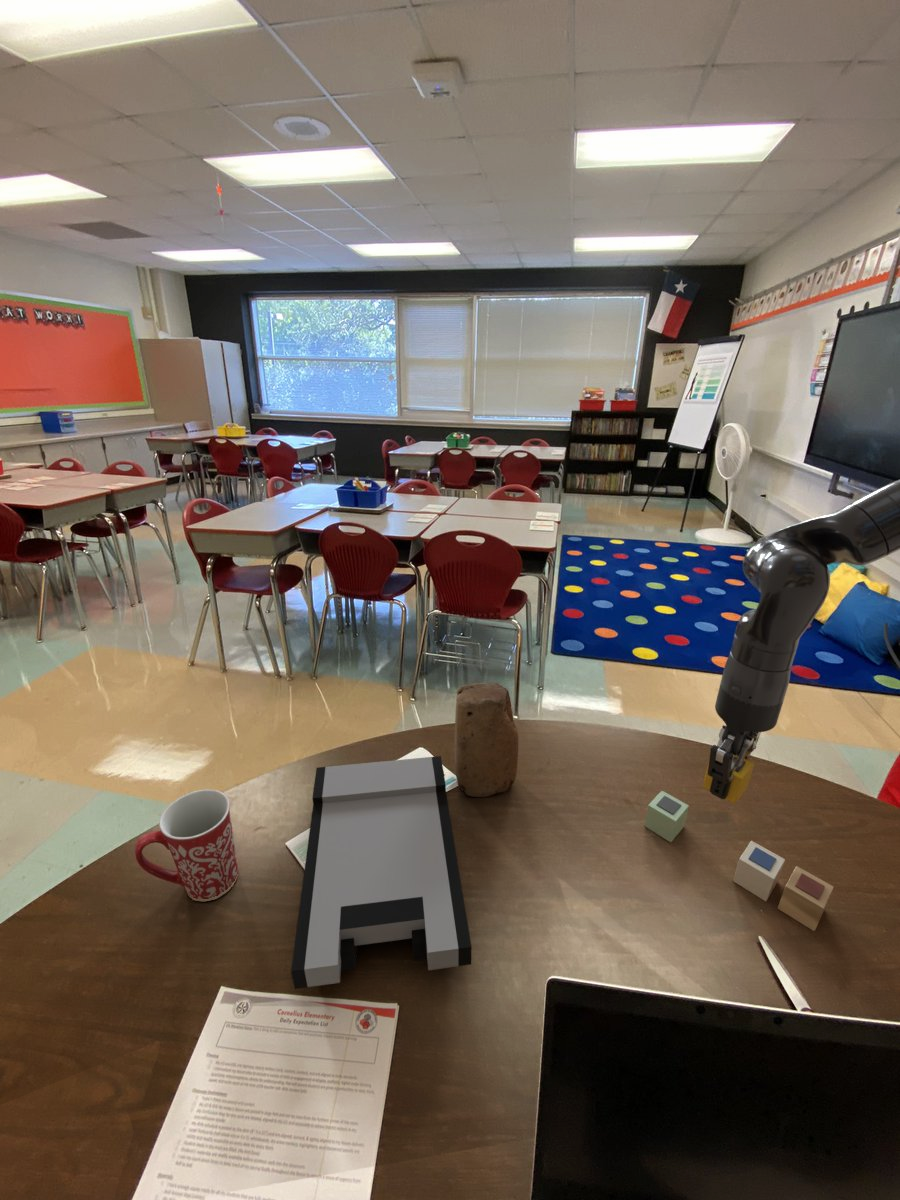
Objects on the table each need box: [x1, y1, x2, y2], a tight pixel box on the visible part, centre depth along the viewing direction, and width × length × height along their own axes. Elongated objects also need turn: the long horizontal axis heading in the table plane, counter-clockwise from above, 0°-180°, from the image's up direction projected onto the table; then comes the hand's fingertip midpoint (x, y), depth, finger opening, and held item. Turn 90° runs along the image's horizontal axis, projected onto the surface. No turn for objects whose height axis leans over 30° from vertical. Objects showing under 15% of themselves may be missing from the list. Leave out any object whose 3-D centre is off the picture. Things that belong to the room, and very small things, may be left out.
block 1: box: [453, 682, 519, 798], centre depth 93 cm, size 11×8×20 cm
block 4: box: [777, 865, 835, 932], centre depth 74 cm, size 5×5×5 cm
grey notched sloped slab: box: [290, 755, 473, 990], centre depth 78 cm, size 21×32×8 cm, turn 7°
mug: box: [134, 788, 239, 899], centre depth 76 cm, size 13×9×14 cm
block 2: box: [644, 790, 690, 843], centre depth 87 cm, size 5×5×5 cm
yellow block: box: [702, 755, 755, 805], centre depth 78 cm, size 5×5×5 cm
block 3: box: [732, 840, 786, 902], centre depth 78 cm, size 5×5×5 cm
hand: (725, 785), depth 78 cm, fingers closed on yellow block, 4 cm apart
